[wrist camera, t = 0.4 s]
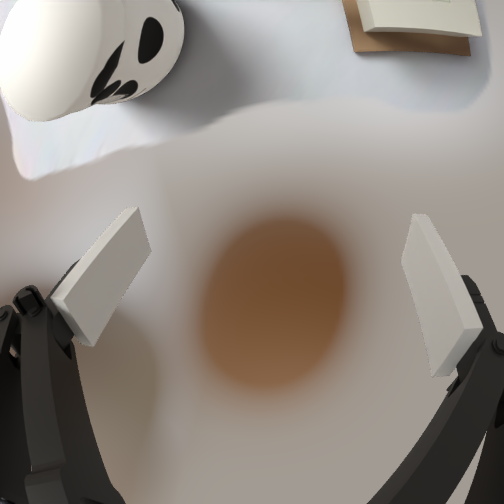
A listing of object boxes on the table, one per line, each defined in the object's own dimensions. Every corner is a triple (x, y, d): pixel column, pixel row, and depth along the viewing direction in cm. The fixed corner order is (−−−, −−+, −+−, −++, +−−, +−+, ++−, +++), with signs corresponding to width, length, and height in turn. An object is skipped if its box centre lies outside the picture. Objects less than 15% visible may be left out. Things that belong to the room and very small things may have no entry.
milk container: (138, -35, 23) (49, -59, 9) (220, 32, 29) (154, 16, 15) (69, 53, 31) (-23, 76, 17) (135, 120, 38) (50, 167, 23)
